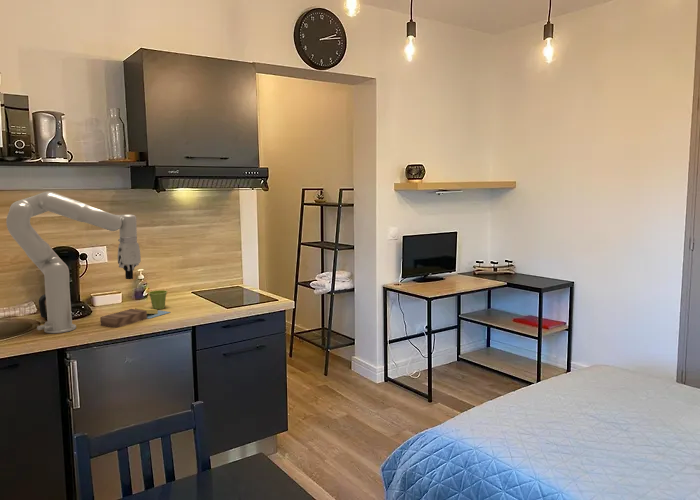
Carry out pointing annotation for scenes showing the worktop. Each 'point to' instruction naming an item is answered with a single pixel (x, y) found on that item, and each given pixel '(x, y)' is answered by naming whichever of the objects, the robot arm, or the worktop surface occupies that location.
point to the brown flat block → (123, 318)
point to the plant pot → (158, 299)
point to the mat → (157, 314)
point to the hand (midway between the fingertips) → (129, 278)
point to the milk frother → (42, 306)
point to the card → (149, 310)
